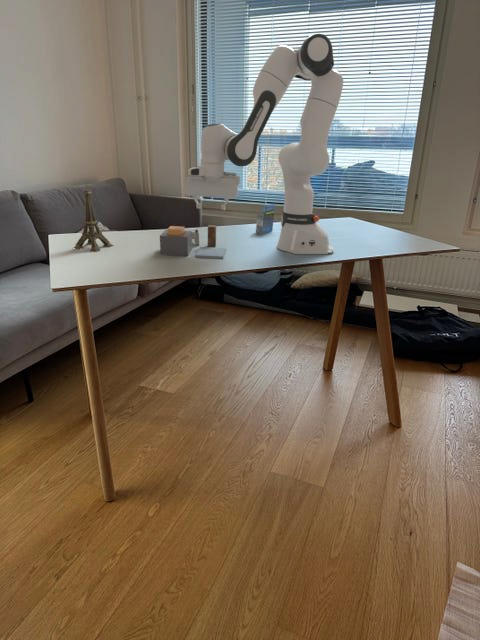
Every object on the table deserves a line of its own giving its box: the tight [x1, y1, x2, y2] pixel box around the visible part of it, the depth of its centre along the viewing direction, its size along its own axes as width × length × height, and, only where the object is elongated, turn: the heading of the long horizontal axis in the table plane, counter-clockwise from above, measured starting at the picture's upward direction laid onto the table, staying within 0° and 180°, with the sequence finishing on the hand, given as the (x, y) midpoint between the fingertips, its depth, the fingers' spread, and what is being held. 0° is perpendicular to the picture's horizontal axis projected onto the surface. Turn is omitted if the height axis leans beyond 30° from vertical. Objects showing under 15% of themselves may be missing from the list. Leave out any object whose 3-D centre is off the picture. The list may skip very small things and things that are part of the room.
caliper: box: [192, 229, 200, 246], centre depth 176 cm, size 20×1×6 cm, turn 23°
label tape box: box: [255, 203, 275, 234], centre depth 194 cm, size 9×4×12 cm, turn 144°
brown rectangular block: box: [207, 224, 217, 248], centre depth 167 cm, size 3×3×8 cm
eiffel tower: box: [73, 179, 114, 253], centre depth 156 cm, size 11×11×25 cm
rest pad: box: [195, 246, 227, 259], centre depth 158 cm, size 10×12×1 cm
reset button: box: [167, 225, 185, 236], centre depth 156 cm, size 5×5×3 cm
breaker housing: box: [159, 229, 193, 257], centre depth 158 cm, size 10×10×7 cm
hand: (210, 209), depth 163 cm, fingers open, 8 cm apart
